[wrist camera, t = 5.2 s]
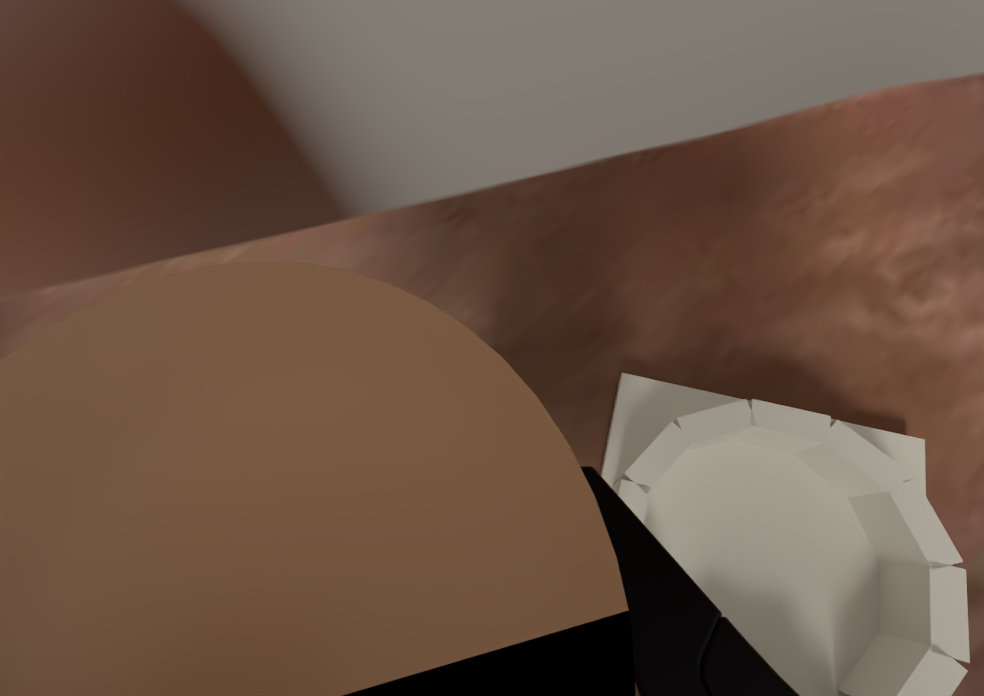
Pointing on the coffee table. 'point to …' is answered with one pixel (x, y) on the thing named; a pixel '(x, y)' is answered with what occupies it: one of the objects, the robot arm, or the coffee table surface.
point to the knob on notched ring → (293, 503)
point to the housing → (798, 535)
